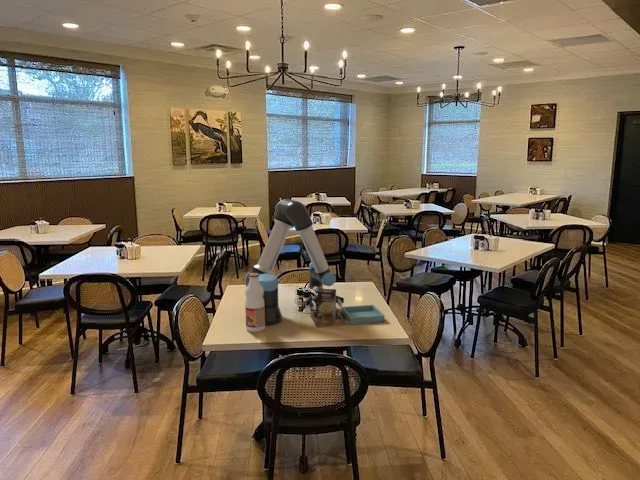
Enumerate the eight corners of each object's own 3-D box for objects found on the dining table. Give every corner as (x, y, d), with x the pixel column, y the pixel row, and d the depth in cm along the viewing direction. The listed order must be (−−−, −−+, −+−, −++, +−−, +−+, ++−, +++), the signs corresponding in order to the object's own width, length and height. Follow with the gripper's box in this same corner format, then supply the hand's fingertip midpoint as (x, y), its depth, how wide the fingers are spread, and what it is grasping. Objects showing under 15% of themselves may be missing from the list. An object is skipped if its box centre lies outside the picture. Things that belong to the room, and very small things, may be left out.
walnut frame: (316, 326, 248) (316, 322, 247) (310, 316, 264) (310, 311, 263) (344, 324, 251) (344, 319, 250) (336, 314, 266) (336, 309, 266)
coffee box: (317, 322, 255) (317, 292, 252) (318, 318, 261) (318, 288, 258) (335, 322, 254) (335, 292, 251) (336, 318, 260) (336, 288, 257)
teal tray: (350, 324, 251) (350, 318, 250) (341, 313, 268) (341, 307, 267) (384, 321, 254) (384, 315, 254) (373, 310, 272) (373, 304, 271)
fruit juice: (265, 332, 242) (263, 276, 236) (245, 332, 241) (243, 276, 236) (265, 325, 251) (263, 271, 246) (246, 326, 250) (244, 271, 245)
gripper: (341, 299, 276) (352, 311, 256) (297, 302, 271) (304, 315, 251) (341, 286, 275) (352, 297, 255) (297, 289, 270) (304, 301, 250)
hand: (328, 306), depth 253 cm, fingers open, 13 cm apart
